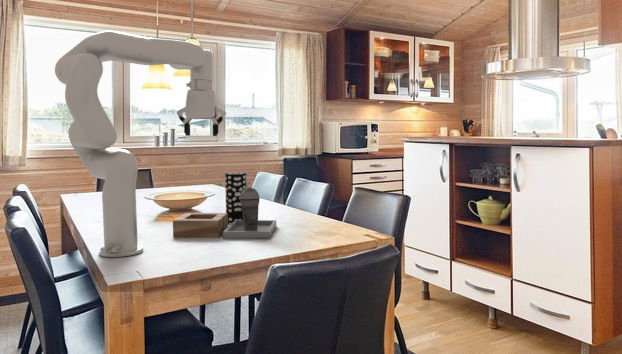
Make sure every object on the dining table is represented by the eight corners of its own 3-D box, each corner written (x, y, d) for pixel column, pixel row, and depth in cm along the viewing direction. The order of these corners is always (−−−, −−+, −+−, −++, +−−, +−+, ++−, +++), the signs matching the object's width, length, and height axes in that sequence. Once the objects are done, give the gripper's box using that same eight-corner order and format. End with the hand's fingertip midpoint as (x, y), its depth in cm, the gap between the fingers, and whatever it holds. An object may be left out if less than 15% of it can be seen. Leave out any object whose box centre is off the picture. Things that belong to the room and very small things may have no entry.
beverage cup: (257, 232, 177) (255, 176, 175) (238, 232, 178) (235, 176, 177) (263, 228, 184) (261, 174, 182) (244, 228, 185) (242, 174, 184)
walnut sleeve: (218, 237, 173) (218, 220, 172) (173, 237, 173) (172, 220, 173) (228, 228, 189) (227, 212, 188) (186, 228, 189) (185, 212, 189)
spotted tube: (221, 223, 199) (220, 173, 197) (234, 220, 206) (233, 172, 204) (238, 225, 195) (237, 174, 193) (251, 221, 202) (250, 173, 200)
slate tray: (269, 239, 170) (269, 231, 170) (223, 238, 171) (223, 231, 170) (276, 226, 192) (276, 220, 192) (235, 226, 193) (235, 220, 192)
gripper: (173, 84, 169) (173, 135, 170) (223, 85, 168) (223, 136, 169) (180, 87, 177) (180, 135, 178) (228, 87, 176) (228, 136, 177)
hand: (201, 135), depth 173 cm, fingers open, 9 cm apart
